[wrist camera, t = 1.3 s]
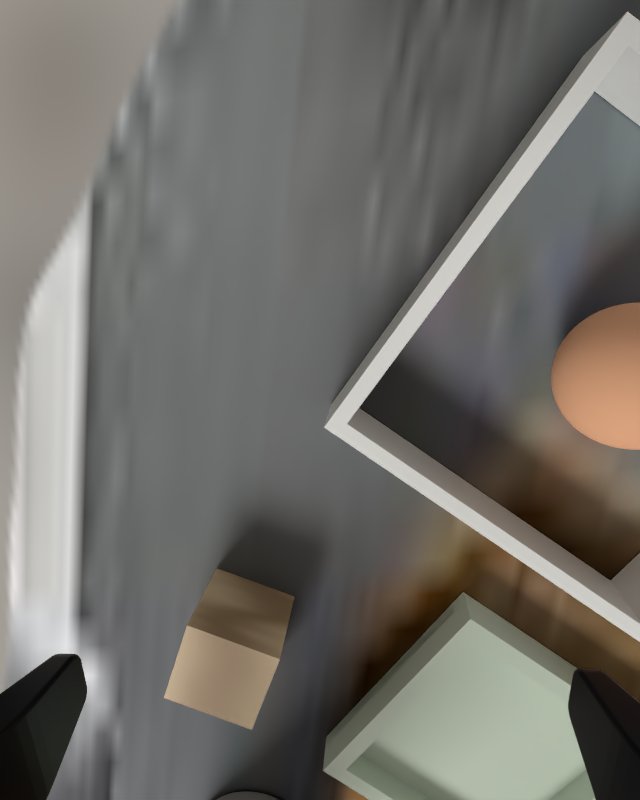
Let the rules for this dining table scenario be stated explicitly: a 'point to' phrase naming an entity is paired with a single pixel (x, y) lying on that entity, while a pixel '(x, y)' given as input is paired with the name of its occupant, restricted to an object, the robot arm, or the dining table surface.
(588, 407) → the ball
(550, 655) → the dish
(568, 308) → the dining table surface
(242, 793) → the travel mug
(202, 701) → the oak cube
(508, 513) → the open rectangular frame
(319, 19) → the dining table surface
